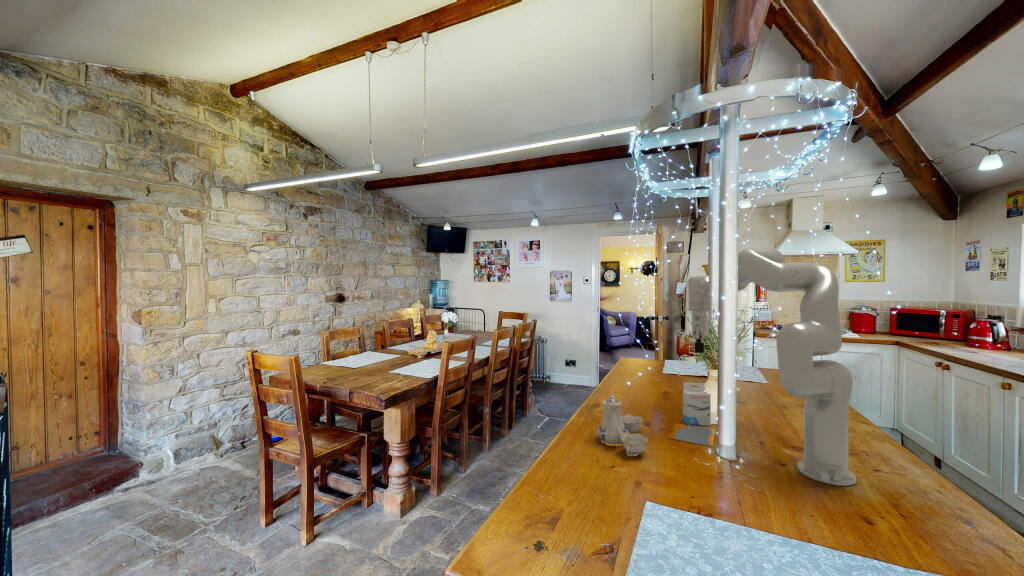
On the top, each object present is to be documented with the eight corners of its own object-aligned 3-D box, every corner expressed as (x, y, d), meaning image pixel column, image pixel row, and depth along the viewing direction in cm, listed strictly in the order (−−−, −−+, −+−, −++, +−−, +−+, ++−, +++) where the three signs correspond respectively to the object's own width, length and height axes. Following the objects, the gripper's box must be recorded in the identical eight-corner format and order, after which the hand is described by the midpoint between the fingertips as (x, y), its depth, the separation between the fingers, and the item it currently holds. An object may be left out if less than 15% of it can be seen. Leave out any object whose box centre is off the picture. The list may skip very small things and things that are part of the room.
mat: (713, 447, 125) (713, 446, 125) (667, 438, 132) (667, 437, 132) (716, 429, 139) (716, 429, 139) (675, 423, 146) (675, 422, 146)
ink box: (687, 425, 143) (686, 385, 143) (682, 420, 148) (682, 382, 148) (711, 425, 142) (710, 385, 142) (705, 421, 147) (705, 382, 147)
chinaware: (654, 468, 115) (660, 413, 114) (598, 459, 117) (603, 406, 117) (638, 431, 143) (642, 387, 142) (593, 425, 145) (596, 382, 145)
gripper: (707, 308, 146) (708, 356, 146) (710, 306, 159) (711, 350, 159) (686, 308, 150) (686, 354, 150) (691, 305, 163) (691, 348, 163)
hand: (699, 352), depth 155 cm, fingers closed
